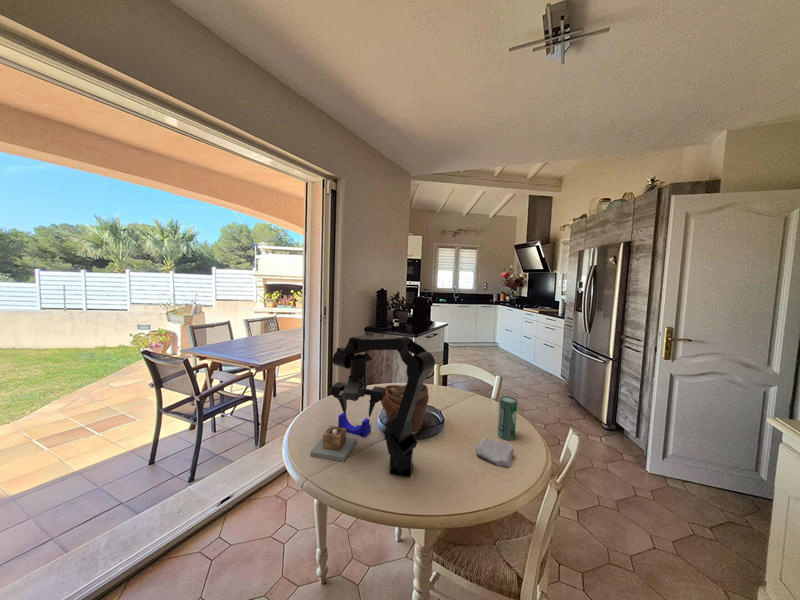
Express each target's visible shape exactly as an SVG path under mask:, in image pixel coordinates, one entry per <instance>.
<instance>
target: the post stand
mask: <svg viewBox="0 0 800 600" xmlns="http://www.w3.org/2000/svg"><path fill="white" fill-rule="evenodd" d="M332 434H338V429H337V428H334V429H332ZM357 441H358V440H357V438H356V437H351V436H350V437H349V436H346V442H345V444H344V445H343V446H342V448H341V449H340V451H335V450H329V449H323V437H321V438H320V440H319V442H318V443H316V445H315V447H313V449H312V450H311V451H310V457H312V458H318V459H319V458H320V459H324V460H330V461H337V462H341V463H342V462H343V463H344V462H345V461H346V460H347V458H348V456H350V453H351V452H352V450H353V449H354V447H355V446H356V443H358V442H357Z"/></svg>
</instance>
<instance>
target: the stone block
mask: <svg viewBox="0 0 800 600" xmlns="http://www.w3.org/2000/svg"><path fill="white" fill-rule="evenodd" d="M514 451H515V449H514V447H513V446H512V445H510V444H509V443H506V442H504V441H503V442H502V441H493V440H490V439H489V438H488V437H484V438H481V439H480V440H479V443H478V444H477V446H476V450H475V453H476V456H478V457H480V458H482V459H484V460H486V461H488V462H489V463H491V464H493V465H495V466H498V467H503V468H509V467H510V466H511V465H512V460H513V457H514Z"/></svg>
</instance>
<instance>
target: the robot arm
mask: <svg viewBox="0 0 800 600" xmlns="http://www.w3.org/2000/svg"><path fill="white" fill-rule="evenodd" d="M369 351H397V352H398V354H399V355H400V358H401V361H402V362H403V363H404V364H405V365H406V375H407V381H406V387H405V390H404V393H403V397H402V400H401V403H400V406H399V409H398V412H397V416H396V417H395V418H393V419H391V420H390V421H388V422H387V423H386V428H385V430H384V431H383V433H384V440H385V443H386V447H387V452H388V455H389V469H390V471H389V474H390V475H396V476H401V477H402V476H403V477H408V478H410V477H412V471H413V467H414V463H413V456H414V455H413V454H414V449H416V447H417V445H418V441H417V439H416V438H415V435H413V434H412V433H411V431H412V425H411V418H412V415H413V412H414V409H415V406H416V403H417V400H418V397H419V394H420V390H421V387H422V384H424V382H425V381H426V379H427V378H428V377H429V376H430V374H431V373H432V370H433V368H434V367H435V364H436V359H435V358H434V355H433V354H432V353H430V352H429V351H427V349H425V348H424V346H421V344H418V343H416V342H415V341H414V340H413V339H412V338H411V337H410V336H407V335H403V336H394V337H393V336H391V337H387V336H386V337H373V336H372V335H366V334H361V335H357V336H351V337H349V339H348V342H347V344H346V345H345V347H342V346H340V347H337V348H336V351H335V352H334V354H333V356H332V358H331V360H332V361H331V362H332V364H333V366H336V367H339V368H343V369H347V370H349V375H348V380H347V383H346V382H338V381H337V382H335V383H334V384H333V385H331V386H330V389H329V395H330V396H333V398H334V399H335V398H336V399H337V400H338V401H339V404H340V406H341V409H342V413H346V414H347V405H348V403H347V402H348V401H353V402H357V401H358V400H359V398H363V397H365V396H370V397H369V398H370V399H369V400H368V401H369V408H368V417H370V418H371V416H372V413H373V411H374V408H375V405H376V403H379V402H381V401H382V399H383V398H384V396H385V391H386V390H385V386H384V387H381V386H374V387H373V388H372V389H370V388H369V389H368V383H367V376H368V372H367V368H368V365H367V364H368V362H370V361H372V360H373V358H372V357H371V356H370V355H369V353H368V352H369ZM365 352H366V353H365ZM362 353H363V354H362Z"/></svg>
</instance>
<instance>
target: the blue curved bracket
mask: <svg viewBox="0 0 800 600" xmlns="http://www.w3.org/2000/svg"><path fill="white" fill-rule="evenodd" d="M337 420H338V421H337V422H338V423H337V424H338V425H337V427H341V428H346V434H347V433H348V434H351V435H355V436H358V437H363V438H366V437H367V436H368V435H369V434H370V433H371V432H372V424H371V423H370V418H364V419H363V420H362V421H361V425H359V424H357V425H356V426H355V425H353V424H351V423H350V421H349V420H348V417H347V412H346V413H344V412H342V413H340V414H339V415H338V419H337Z"/></svg>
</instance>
